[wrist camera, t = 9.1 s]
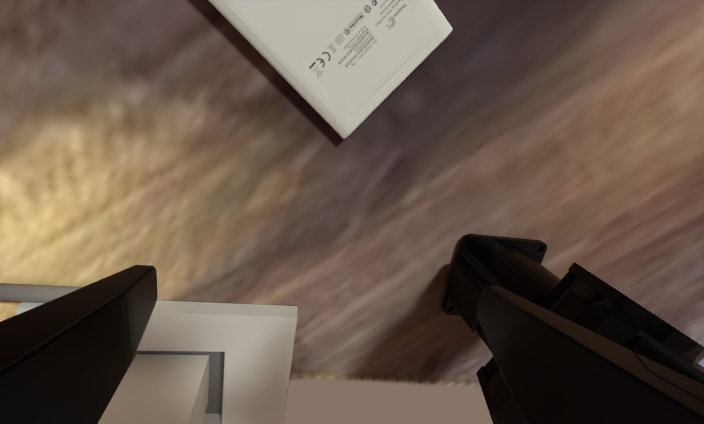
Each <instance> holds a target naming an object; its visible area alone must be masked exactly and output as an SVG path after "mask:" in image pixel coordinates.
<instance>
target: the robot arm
mask: <svg viewBox="0 0 704 424" xmlns="http://www.w3.org/2000/svg"><path fill="white" fill-rule="evenodd" d="M470 240H472V242H471V243H470V244H468V243H469V241H470ZM538 247H540V248H539V249H538ZM546 250H547V245H546V244H545V243H543V242H542V241H539V240H529V239H518V238H508V237H497V236H487V235H476V234H468V235H466V236H465V237H464V238H463V240H462V243H461V247H460V250H459V253H458V256H457V260H456V262H455V263H454V265H453V269H452V272H451V275H450V278H449V282H448V285H447V288H446V295H445V299H444V302H443V305H442V308H443V310H444V312H445V313H446V314H448V315H461V316H462V317H463V319H464V320H465V322H466V323H467V324H468V326H469V327H470V329H471V330H472V331H473V332H477V333H478V334H479V335H480V337H481V338H482V339H483V341H484V342H485V344H486V345H487V346H488V348H489V349H490V351H491V352H492V354H493V357H492V358H491V360H490V361H489V362H488V363H487V364H486V365H485V366H484V367H483V366H482V367H481V368H480V369H479V370H478V372H477V376H478V379H479V382H480V385H481V388H482V391H483V394H484V397H485V400H486V403H487V406H488V409H489V412H490V415H491V418H492V421H493V424H704V367H702V366H701V365H699V364H698V363H699V362H700V360H701V359H703V358H704V347H703V346H701V345H700V344H698V343H697V342H695V341H694V340H692V339H691V338H689V337H688V336H686V335H685V334H683V333H682V332H680V331H679V330H677V329H676V328H674V327H672V326H671V325H669V324H668V323H666V322H665V321H663V320H662V319H660V318H659V317H657V316H656V315H654V314H653V313H651V312H650V311H648V310H647V309H645V308H643V307H642V306H640V305H639V304H637V303H636V302H634V301H633V300H631V299H630V298H628V297H627V296H625V295H624V294H622V293H621V292H619V291H617V290H616V289H614V288H613V287H611V286H610V285H608V284H607V283H605V282H604V281H602V280H601V279H599V278H598V277H596V276H595V275H593V274H592V273H590V272H588V271H587V270H585V269H584V268H582V267H581V266H579V265H578V264H576V263H575V262H574V263H573V264H572V265H571V266H570V268H569V269H568V270H569V272H568V273H567V274H566V275H565V276H564V277H563V278H562V280H561V279H559V278H558V277H557V276H555V275H554V274H553V273H551V272H550V271H549V270H547V269H546V268H545V267H544V266H542V265H541V262H542V260H543V257H544V255H545V252H546ZM156 301H157V275H156V269H155V267H154V266H147V265H135V266H132V267H130V268H127V269H125V270H123V271H120V272H118V273H116V274H113V275H111V276H108V277H106V278H104V279H101V280H99V281H97V282H94V283H92V284H89V285H87V286H85V287H82V288H80V289H77V290H75V291H73V292H70V293H68V294H66V295H63V296H61V297H58V298H56V299H54V300H51V301H49V302H47V303H44V304H42V305H39V306H37V307H35V308H32V309H30V310H27V311H25V312H23V313H20V314H18V315H16V316H13V317H11V318H8V319H6V320H4V321H1V322H0V424H98V422H99V421H100V419H101V417H102V415H103V413H104V412H105V410H106V408H107V406H108V404H109V403H110V401H111V399H112V397H113V395H114V394H115V392H116V390H117V388H118V386H119V384H120V383H121V381H122V379H123V377H124V375H125V374H126V372H127V370H128V368H129V366H130V364H131V362H132V360H133V358H134V356H135V353H136V351H137V349H138V346H139V344H140V341H141V339H142V336H143V334H144V332H145V329H146V327H147V324H148V322H149V319H150V317H151V314H152V312H153V310H154V307H155V305H156ZM449 307H451V308H449ZM448 308H449V309H448Z"/></svg>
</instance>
